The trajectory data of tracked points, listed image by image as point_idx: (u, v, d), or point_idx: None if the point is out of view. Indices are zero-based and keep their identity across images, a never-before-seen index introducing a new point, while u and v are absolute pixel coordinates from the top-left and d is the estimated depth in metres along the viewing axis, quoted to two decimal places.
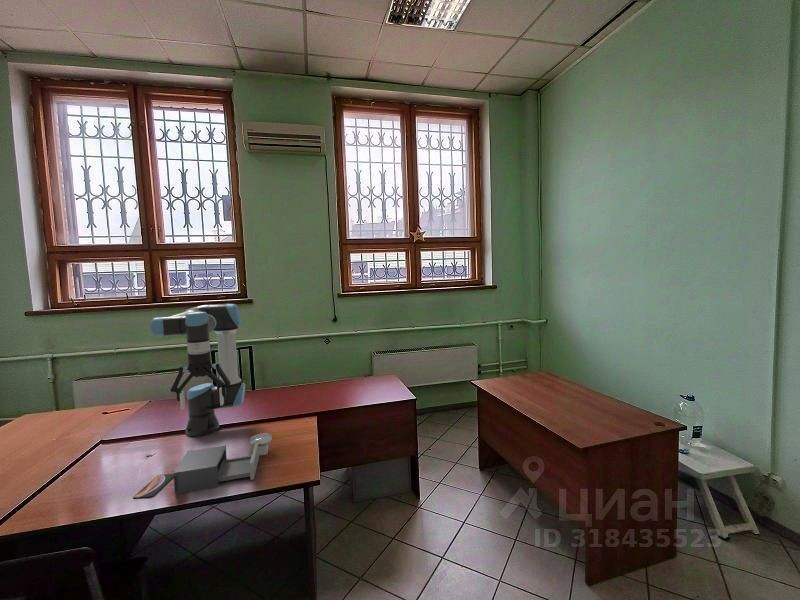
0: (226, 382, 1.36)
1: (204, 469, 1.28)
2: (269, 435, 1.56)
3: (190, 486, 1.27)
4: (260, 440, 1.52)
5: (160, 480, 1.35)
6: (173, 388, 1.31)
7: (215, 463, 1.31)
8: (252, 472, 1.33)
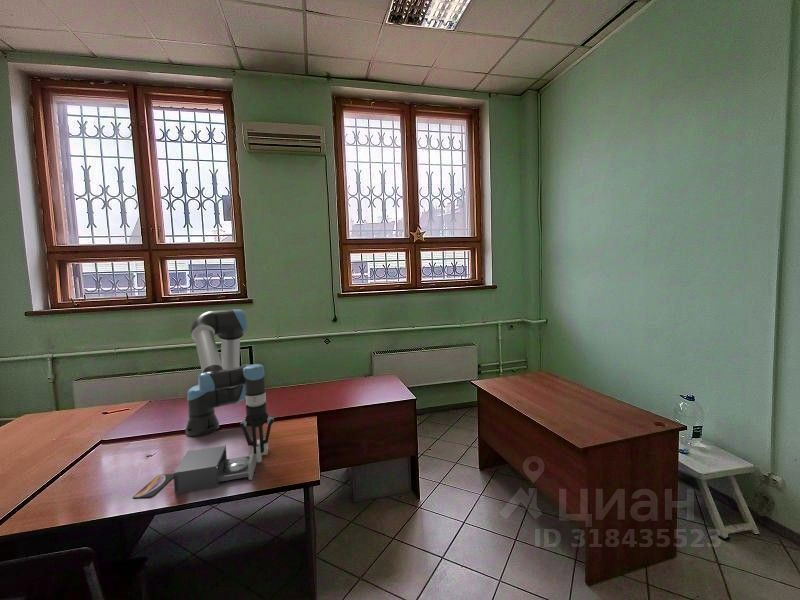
0: (266, 439, 1.41)
1: (204, 469, 1.28)
2: (237, 467, 1.36)
3: (190, 486, 1.27)
4: (229, 464, 1.38)
5: (160, 480, 1.35)
6: (249, 442, 1.39)
7: (215, 463, 1.31)
8: (250, 472, 1.33)
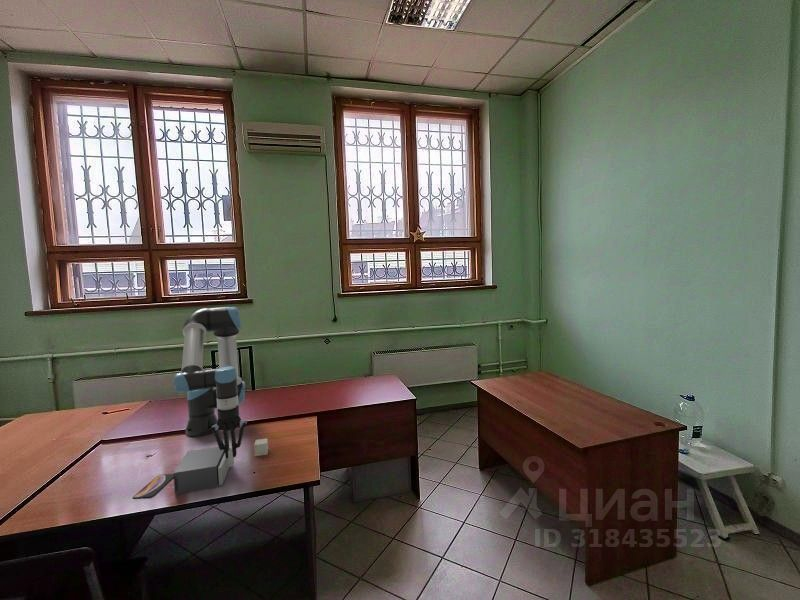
0: (239, 443, 1.38)
1: (204, 469, 1.28)
2: None
3: (190, 486, 1.27)
4: None
5: (160, 480, 1.35)
6: (220, 446, 1.36)
7: (215, 463, 1.31)
8: (220, 477, 1.30)
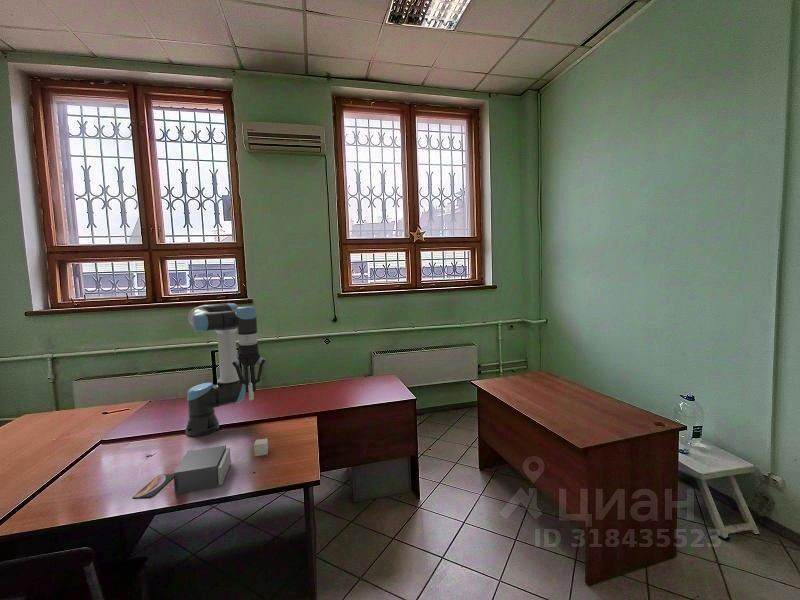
0: (258, 378, 1.46)
1: (204, 469, 1.28)
2: None
3: (190, 486, 1.27)
4: None
5: (160, 480, 1.35)
6: (241, 380, 1.44)
7: (215, 463, 1.31)
8: (220, 477, 1.30)
